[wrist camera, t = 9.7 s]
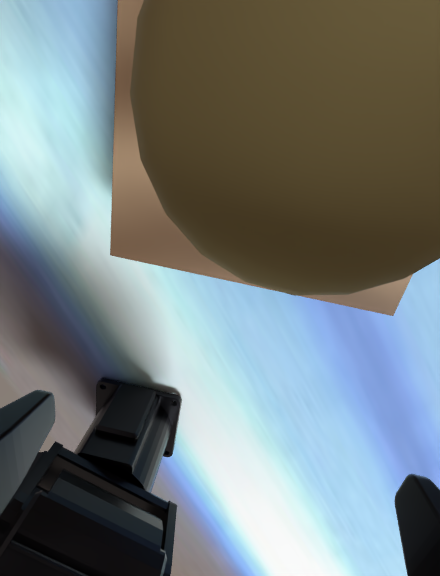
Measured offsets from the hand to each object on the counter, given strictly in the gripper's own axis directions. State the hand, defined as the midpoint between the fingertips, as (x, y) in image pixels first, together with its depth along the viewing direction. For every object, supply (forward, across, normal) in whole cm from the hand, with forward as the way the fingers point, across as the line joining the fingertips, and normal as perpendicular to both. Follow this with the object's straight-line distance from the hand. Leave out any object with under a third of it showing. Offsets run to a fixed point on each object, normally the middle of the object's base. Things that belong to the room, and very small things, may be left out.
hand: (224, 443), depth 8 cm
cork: (+9, 0, -8) cm, 12 cm away
